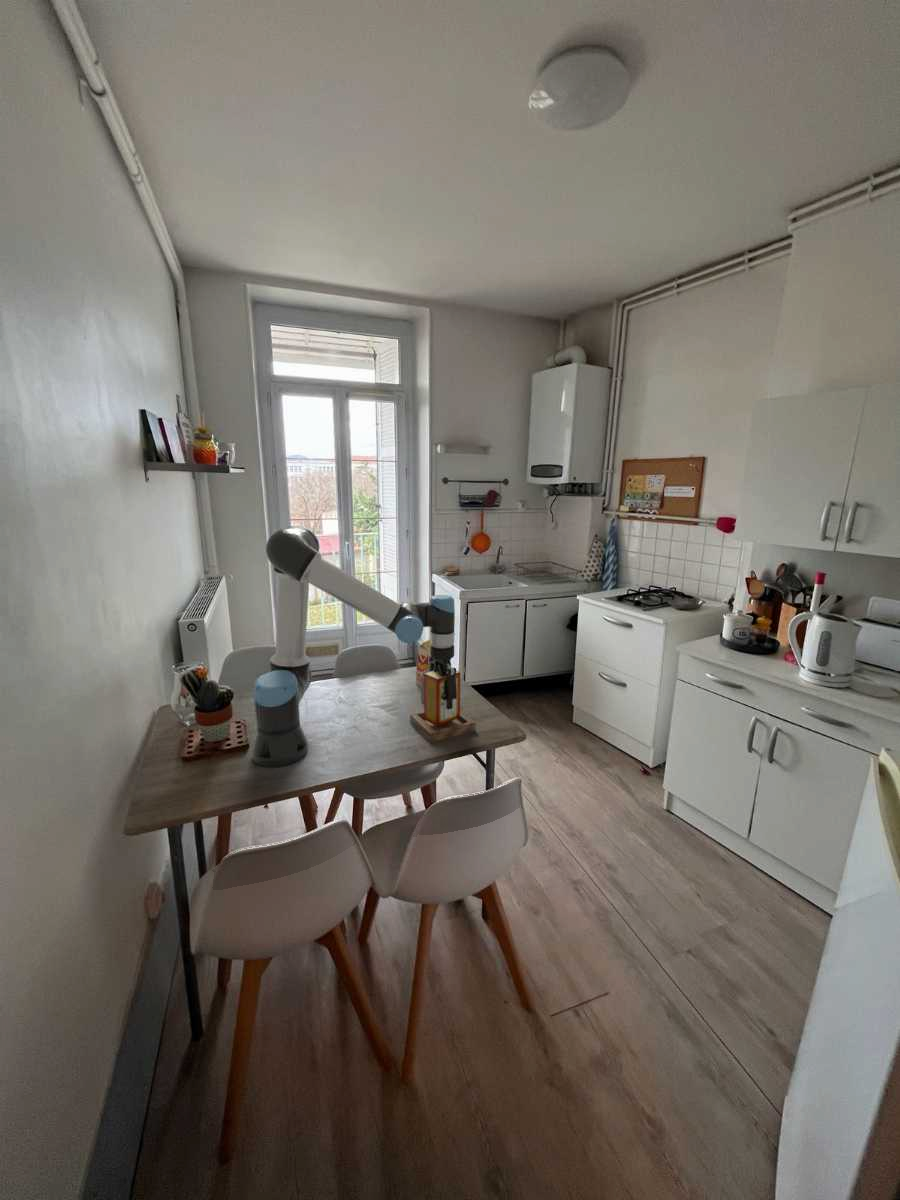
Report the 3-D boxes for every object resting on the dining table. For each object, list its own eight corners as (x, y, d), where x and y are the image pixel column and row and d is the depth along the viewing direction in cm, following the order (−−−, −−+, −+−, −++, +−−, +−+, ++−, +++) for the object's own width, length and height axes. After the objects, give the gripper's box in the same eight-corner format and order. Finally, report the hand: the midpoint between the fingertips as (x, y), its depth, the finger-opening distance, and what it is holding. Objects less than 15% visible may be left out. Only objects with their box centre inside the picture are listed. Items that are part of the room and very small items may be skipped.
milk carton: (431, 679, 197) (431, 631, 193) (445, 685, 190) (446, 637, 186) (413, 684, 192) (412, 636, 187) (427, 691, 185) (427, 641, 180)
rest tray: (430, 742, 147) (430, 733, 146) (410, 722, 160) (410, 714, 159) (475, 730, 155) (475, 722, 154) (452, 712, 167) (452, 704, 167)
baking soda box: (437, 726, 151) (437, 678, 148) (424, 719, 156) (424, 672, 152) (459, 717, 157) (460, 671, 154) (446, 710, 162) (446, 665, 159)
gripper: (469, 652, 144) (468, 722, 149) (437, 634, 162) (437, 698, 167) (447, 655, 141) (446, 728, 146) (417, 637, 158) (418, 703, 163)
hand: (442, 712), depth 156 cm, fingers closed on baking soda box, 7 cm apart
